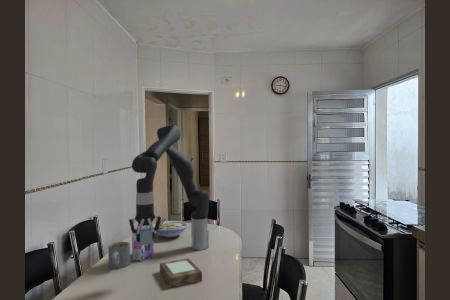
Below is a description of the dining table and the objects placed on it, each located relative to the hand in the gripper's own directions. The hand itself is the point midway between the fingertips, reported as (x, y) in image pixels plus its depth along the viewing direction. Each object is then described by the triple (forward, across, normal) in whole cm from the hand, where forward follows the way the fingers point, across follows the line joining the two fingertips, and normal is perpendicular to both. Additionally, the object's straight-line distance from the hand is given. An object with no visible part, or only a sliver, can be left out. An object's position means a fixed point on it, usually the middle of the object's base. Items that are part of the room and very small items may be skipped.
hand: (145, 240), depth 134 cm
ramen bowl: (+18, -28, -60) cm, 68 cm away
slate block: (+1, 0, 0) cm, 1 cm away
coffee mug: (+17, +9, -22) cm, 30 cm away
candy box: (+18, -5, -30) cm, 35 cm away
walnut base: (+17, -15, +3) cm, 23 cm away
